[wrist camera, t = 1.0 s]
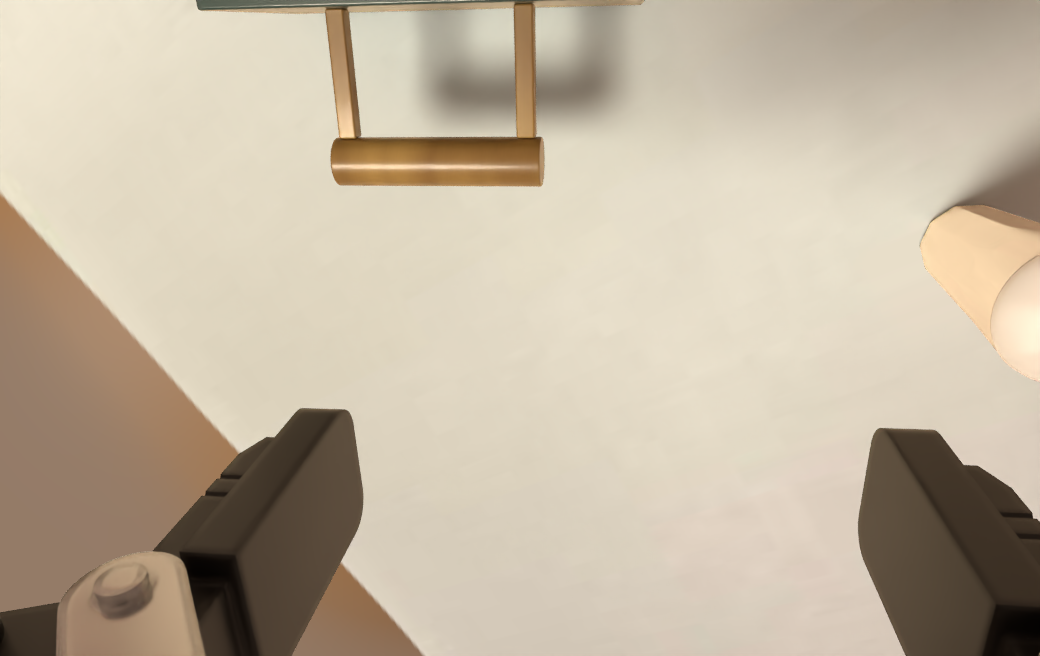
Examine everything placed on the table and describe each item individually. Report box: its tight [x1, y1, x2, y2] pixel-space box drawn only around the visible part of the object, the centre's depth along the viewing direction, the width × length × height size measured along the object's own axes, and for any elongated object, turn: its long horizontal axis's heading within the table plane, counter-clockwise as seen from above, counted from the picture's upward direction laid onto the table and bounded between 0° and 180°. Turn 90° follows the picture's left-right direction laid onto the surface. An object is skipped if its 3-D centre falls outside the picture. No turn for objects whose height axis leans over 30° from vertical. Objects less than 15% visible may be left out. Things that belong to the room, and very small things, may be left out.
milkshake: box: [920, 205, 1040, 382], centre depth 25 cm, size 4×5×10 cm
